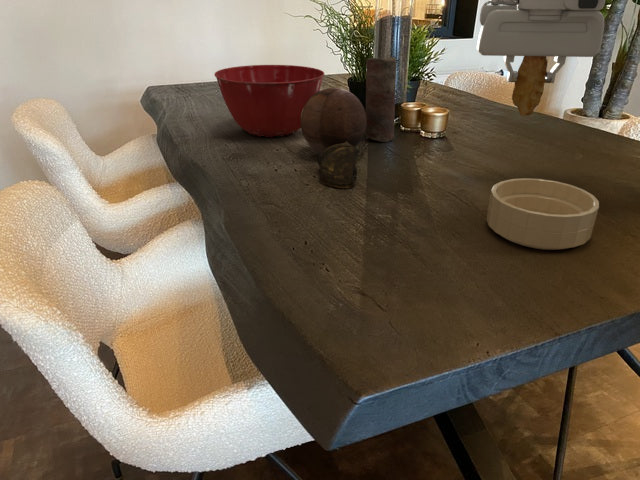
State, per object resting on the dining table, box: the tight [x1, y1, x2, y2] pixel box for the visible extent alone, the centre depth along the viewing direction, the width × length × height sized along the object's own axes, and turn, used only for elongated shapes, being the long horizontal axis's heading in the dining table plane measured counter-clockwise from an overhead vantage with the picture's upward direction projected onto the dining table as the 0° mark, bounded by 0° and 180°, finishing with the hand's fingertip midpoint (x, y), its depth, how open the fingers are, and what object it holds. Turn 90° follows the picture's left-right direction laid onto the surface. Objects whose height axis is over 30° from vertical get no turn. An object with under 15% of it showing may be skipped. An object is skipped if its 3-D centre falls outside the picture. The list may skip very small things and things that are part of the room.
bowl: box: [486, 177, 600, 251], centre depth 77 cm, size 15×15×6 cm
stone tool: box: [511, 56, 548, 117], centre depth 88 cm, size 5×2×15 cm, turn 80°
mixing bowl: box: [214, 64, 326, 138], centre depth 130 cm, size 28×28×15 cm
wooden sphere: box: [300, 87, 366, 154], centre depth 111 cm, size 15×15×15 cm
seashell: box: [317, 141, 360, 189], centre depth 101 cm, size 16×9×7 cm, turn 179°
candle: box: [364, 56, 397, 143], centre depth 121 cm, size 8×7×20 cm
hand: (530, 82), depth 89 cm, fingers closed on stone tool, 5 cm apart
